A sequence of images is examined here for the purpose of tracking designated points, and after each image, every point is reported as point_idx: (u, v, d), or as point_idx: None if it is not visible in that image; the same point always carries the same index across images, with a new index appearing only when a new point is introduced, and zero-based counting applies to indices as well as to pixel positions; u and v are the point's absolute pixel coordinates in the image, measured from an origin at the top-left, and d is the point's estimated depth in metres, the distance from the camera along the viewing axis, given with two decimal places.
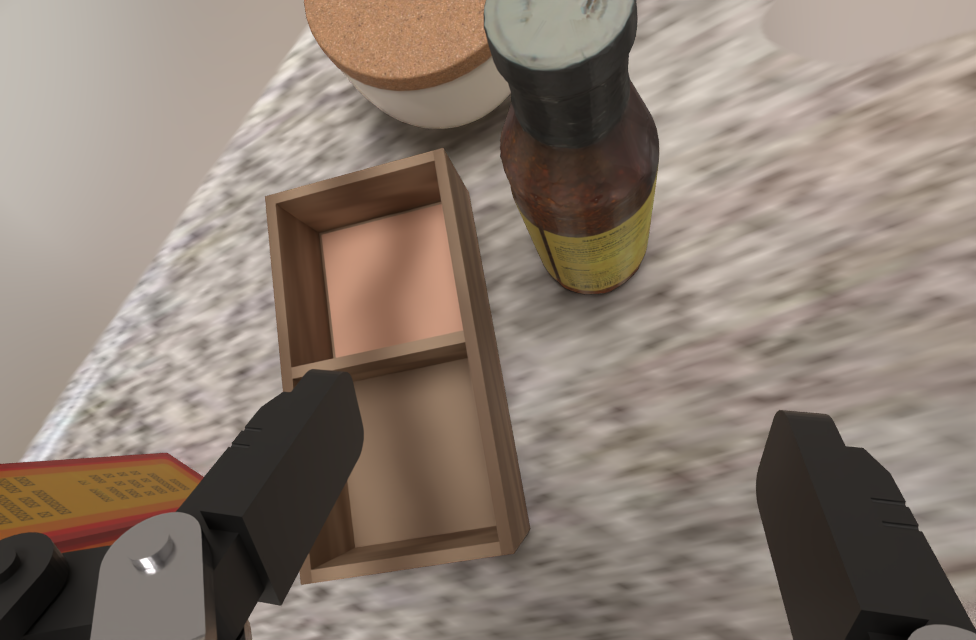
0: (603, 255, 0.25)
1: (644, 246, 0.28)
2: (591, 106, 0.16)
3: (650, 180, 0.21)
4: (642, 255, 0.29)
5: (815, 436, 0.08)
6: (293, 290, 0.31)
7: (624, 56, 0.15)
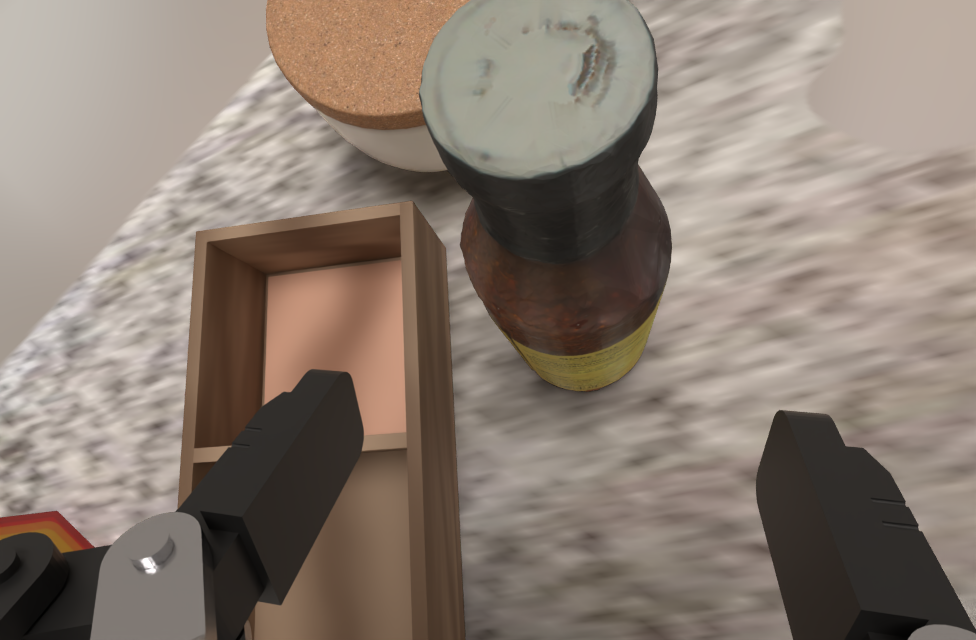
0: (587, 369, 0.20)
1: (641, 350, 0.23)
2: (576, 222, 0.11)
3: (655, 296, 0.16)
4: (638, 357, 0.24)
5: (815, 436, 0.08)
6: (215, 348, 0.26)
7: (630, 163, 0.09)
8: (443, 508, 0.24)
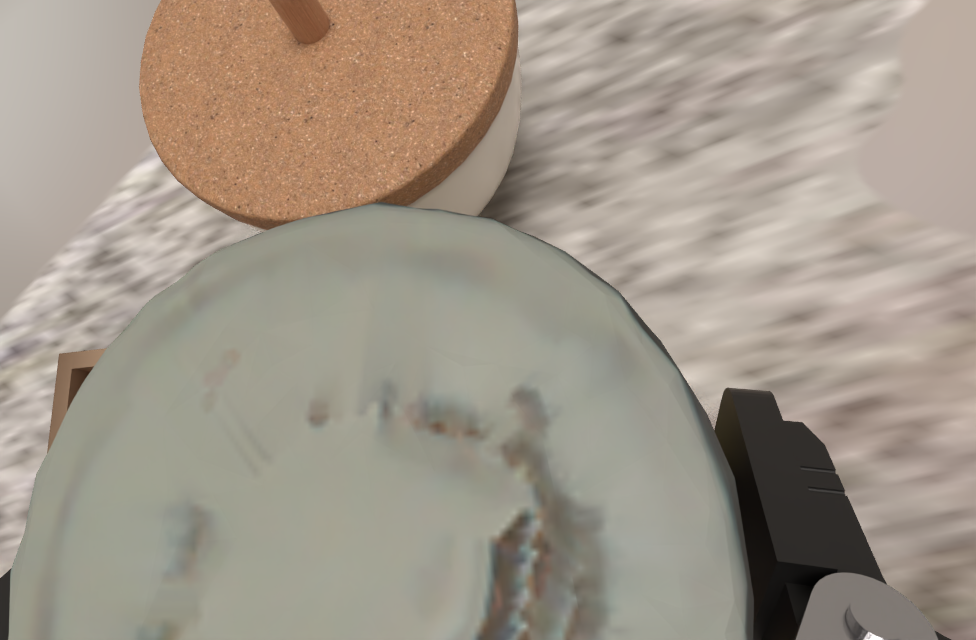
0: None
1: None
2: None
3: None
4: None
5: (755, 410, 0.09)
6: None
7: None
8: None
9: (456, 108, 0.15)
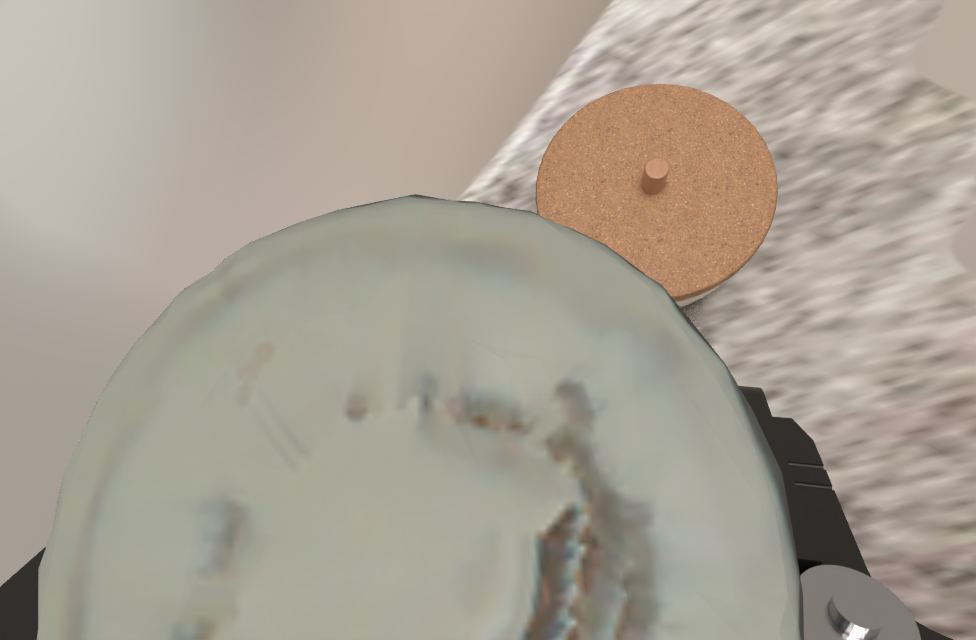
0: None
1: None
2: None
3: None
4: None
5: None
6: None
7: None
8: None
9: (750, 237, 0.28)
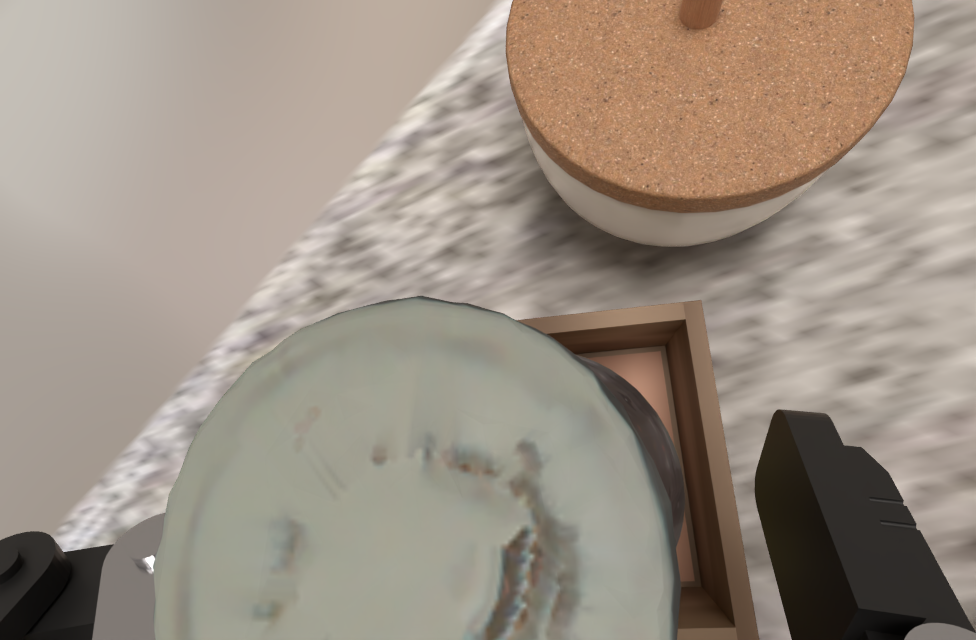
0: None
1: None
2: None
3: None
4: None
5: (813, 435, 0.08)
6: None
7: None
8: None
9: (872, 90, 0.16)
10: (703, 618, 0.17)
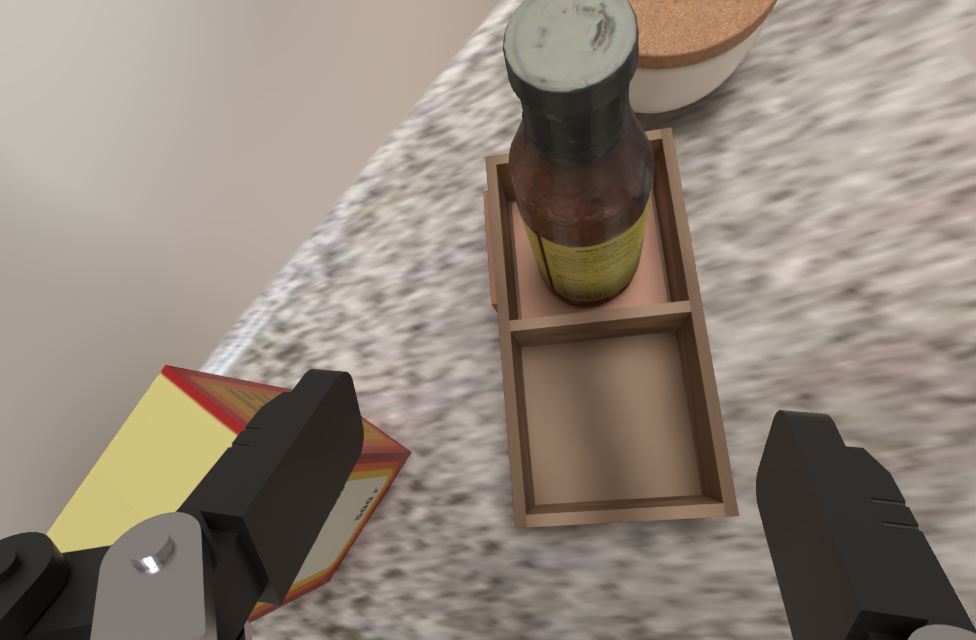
0: (594, 267, 0.27)
1: (635, 265, 0.30)
2: (591, 128, 0.18)
3: (642, 202, 0.23)
4: (633, 273, 0.31)
5: (815, 436, 0.08)
6: (505, 249, 0.32)
7: (623, 87, 0.16)
8: None
9: None
10: None
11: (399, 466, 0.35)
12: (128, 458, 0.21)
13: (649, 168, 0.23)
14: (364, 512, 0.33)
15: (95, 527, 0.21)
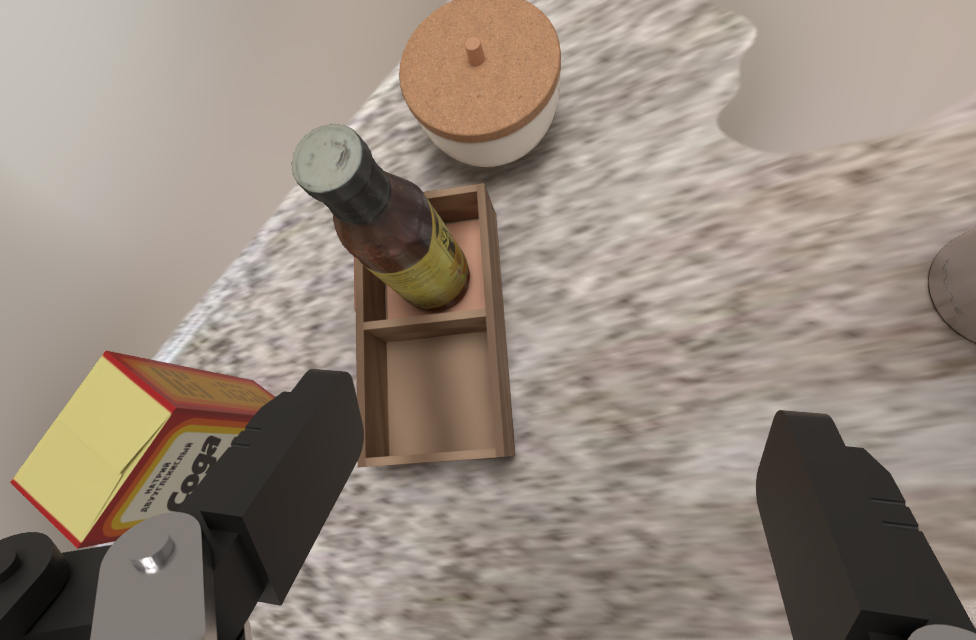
0: (410, 285, 0.39)
1: (455, 282, 0.42)
2: (353, 207, 0.30)
3: (424, 244, 0.35)
4: (457, 288, 0.43)
5: (815, 436, 0.08)
6: (367, 270, 0.44)
7: (360, 187, 0.28)
8: (502, 357, 0.42)
9: (538, 91, 0.40)
10: None
11: None
12: (80, 410, 0.33)
13: (426, 222, 0.35)
14: None
15: (58, 453, 0.33)
